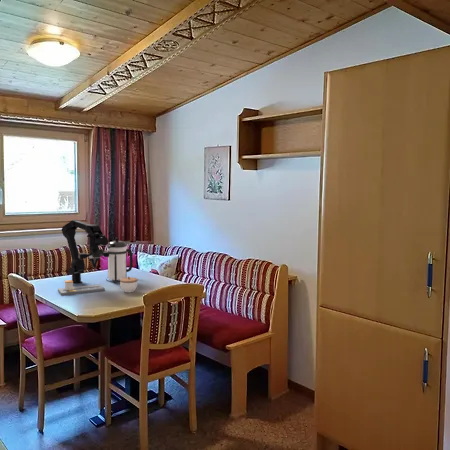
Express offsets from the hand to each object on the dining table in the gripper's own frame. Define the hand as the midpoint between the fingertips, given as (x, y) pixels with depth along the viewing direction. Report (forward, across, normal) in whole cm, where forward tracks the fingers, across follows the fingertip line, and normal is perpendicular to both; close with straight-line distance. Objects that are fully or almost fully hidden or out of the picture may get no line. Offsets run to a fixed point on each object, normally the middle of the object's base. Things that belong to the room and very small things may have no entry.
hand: (94, 268), depth 295 cm
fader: (+10, -18, -8) cm, 22 cm away
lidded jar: (+12, +16, -22) cm, 30 cm away
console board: (+12, -10, -8) cm, 18 cm away
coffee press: (+12, +19, +10) cm, 25 cm away
